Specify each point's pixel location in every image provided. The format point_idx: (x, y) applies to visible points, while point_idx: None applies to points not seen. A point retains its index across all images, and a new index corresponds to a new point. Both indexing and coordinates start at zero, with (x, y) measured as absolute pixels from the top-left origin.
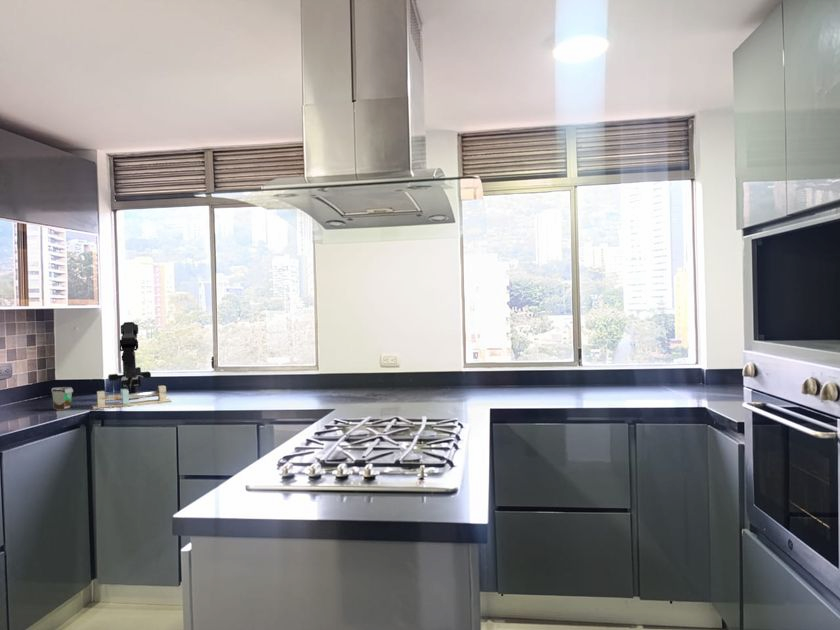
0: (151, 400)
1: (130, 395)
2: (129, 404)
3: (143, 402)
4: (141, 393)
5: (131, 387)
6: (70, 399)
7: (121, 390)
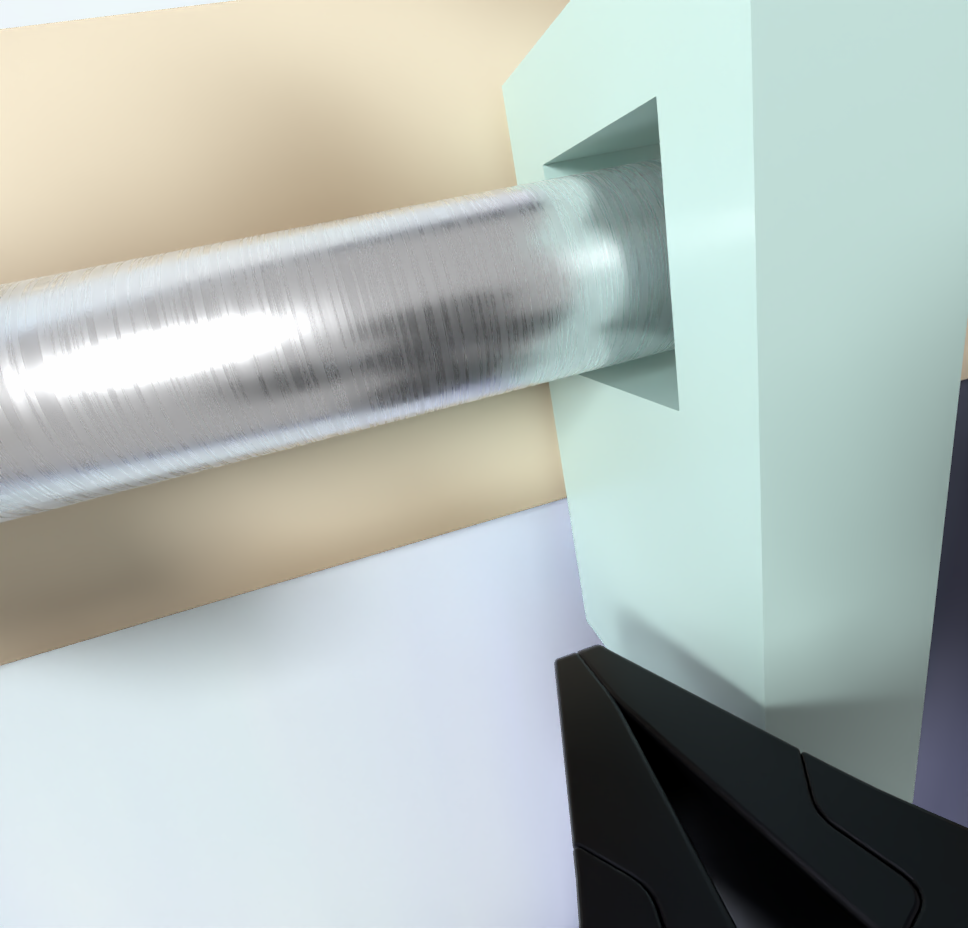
0: (12, 546)
1: (537, 183)
2: (478, 23)
3: (144, 234)
4: (109, 288)
5: (632, 790)
6: None
7: (913, 532)
